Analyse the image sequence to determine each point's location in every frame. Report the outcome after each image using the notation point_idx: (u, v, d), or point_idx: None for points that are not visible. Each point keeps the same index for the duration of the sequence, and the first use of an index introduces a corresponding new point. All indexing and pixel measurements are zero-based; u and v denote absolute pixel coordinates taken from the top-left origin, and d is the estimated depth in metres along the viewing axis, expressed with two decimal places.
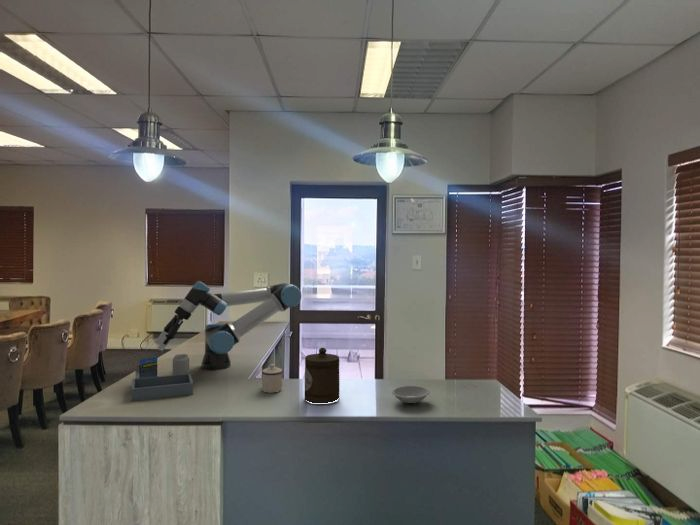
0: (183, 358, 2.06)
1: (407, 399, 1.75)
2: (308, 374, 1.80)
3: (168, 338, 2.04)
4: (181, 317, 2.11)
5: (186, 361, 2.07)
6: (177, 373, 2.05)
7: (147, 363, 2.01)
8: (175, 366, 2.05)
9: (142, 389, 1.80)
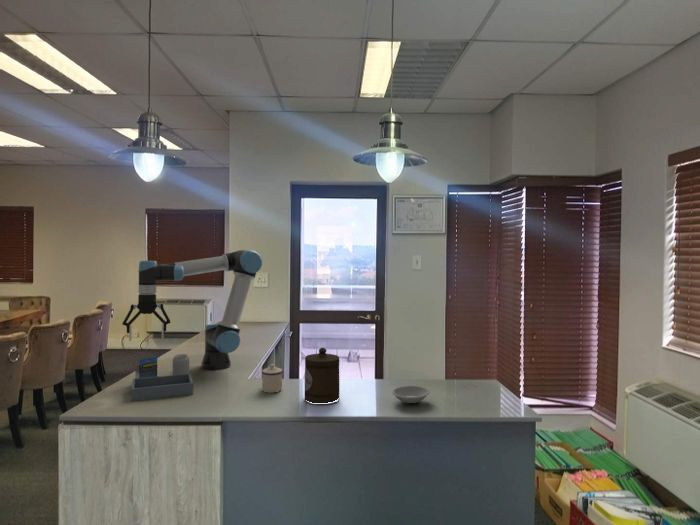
0: (183, 358, 2.06)
1: (407, 399, 1.75)
2: (308, 374, 1.80)
3: (166, 324, 2.06)
4: None
5: (186, 361, 2.07)
6: (177, 373, 2.05)
7: (147, 363, 2.01)
8: (175, 366, 2.05)
9: (142, 389, 1.80)
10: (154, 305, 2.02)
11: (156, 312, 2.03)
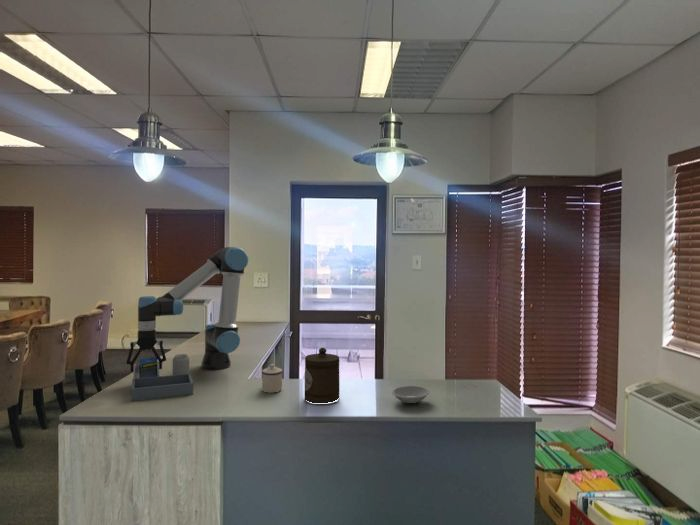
0: (183, 358, 2.06)
1: (407, 399, 1.75)
2: (308, 374, 1.80)
3: None
4: None
5: (186, 361, 2.07)
6: (177, 373, 2.05)
7: (147, 363, 2.01)
8: (175, 366, 2.05)
9: (142, 389, 1.80)
10: (154, 341, 2.03)
11: (154, 349, 2.03)
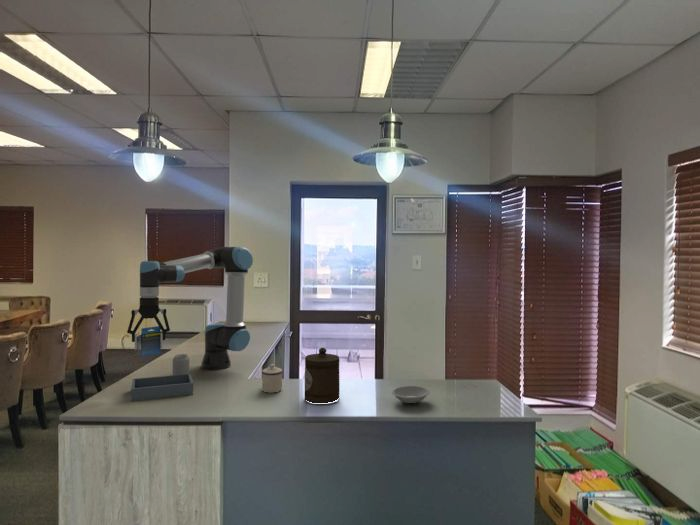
0: (183, 358, 2.06)
1: (407, 399, 1.75)
2: (308, 374, 1.80)
3: (165, 332, 1.91)
4: None
5: (186, 361, 2.07)
6: (177, 373, 2.05)
7: (149, 333, 1.86)
8: (175, 366, 2.05)
9: (142, 389, 1.80)
10: (157, 309, 1.88)
11: (157, 318, 1.88)
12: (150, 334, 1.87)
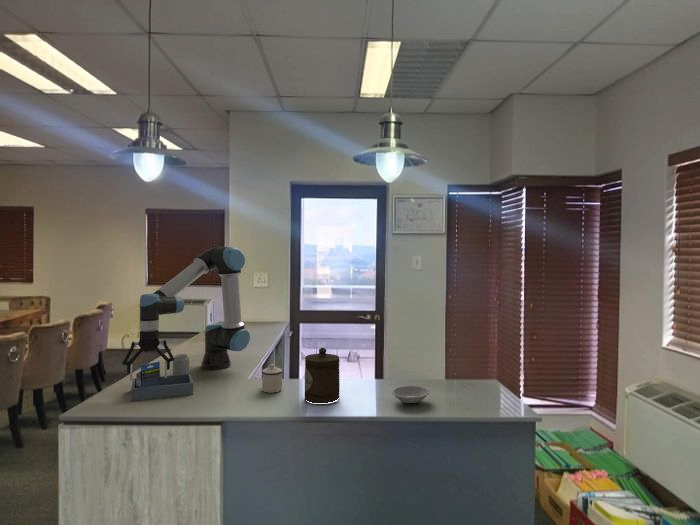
0: (183, 358, 2.06)
1: (407, 399, 1.75)
2: (308, 374, 1.80)
3: None
4: (158, 338, 1.89)
5: (186, 361, 2.07)
6: (177, 373, 2.05)
7: (149, 369, 1.87)
8: (175, 366, 2.05)
9: (142, 389, 1.80)
10: (156, 342, 1.88)
11: (159, 349, 1.89)
12: (149, 370, 1.87)
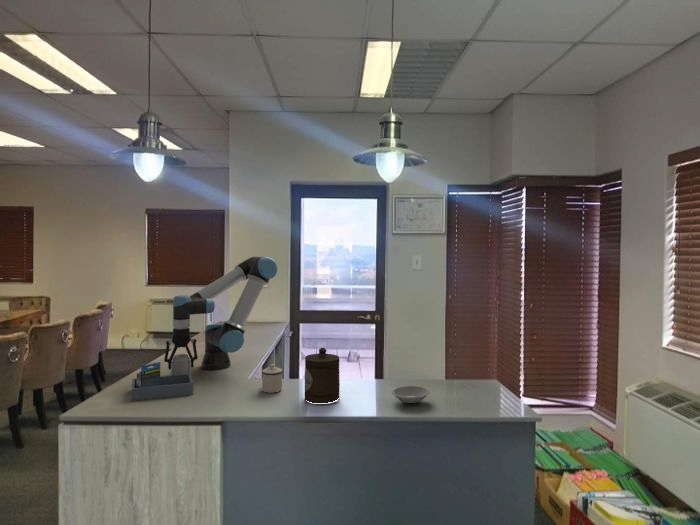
0: (183, 358, 2.06)
1: (407, 399, 1.75)
2: (308, 374, 1.80)
3: (193, 360, 2.11)
4: None
5: (186, 361, 2.07)
6: (177, 373, 2.05)
7: (149, 369, 1.87)
8: (175, 366, 2.05)
9: (142, 389, 1.80)
10: (188, 339, 2.09)
11: None
12: (150, 371, 1.87)
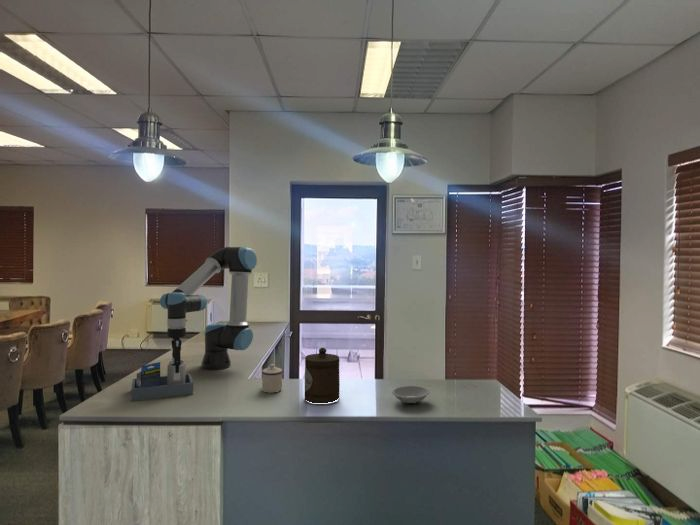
0: None
1: (407, 399, 1.75)
2: (308, 374, 1.80)
3: None
4: None
5: None
6: (184, 379, 1.93)
7: (149, 369, 1.87)
8: (183, 372, 1.92)
9: (142, 389, 1.80)
10: None
11: None
12: (150, 371, 1.87)
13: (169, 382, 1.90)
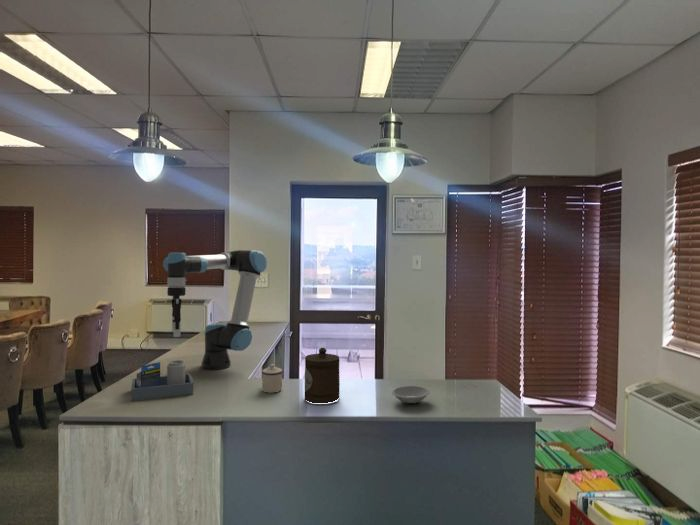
0: None
1: (407, 399, 1.75)
2: (308, 374, 1.80)
3: None
4: None
5: None
6: (184, 379, 1.93)
7: (149, 369, 1.87)
8: (183, 372, 1.92)
9: (142, 389, 1.80)
10: None
11: None
12: (150, 371, 1.87)
13: (169, 382, 1.90)
